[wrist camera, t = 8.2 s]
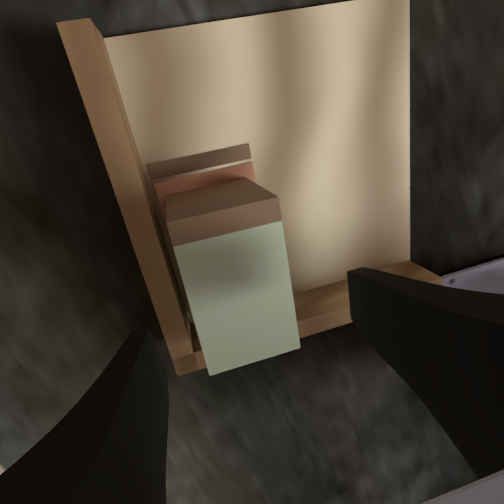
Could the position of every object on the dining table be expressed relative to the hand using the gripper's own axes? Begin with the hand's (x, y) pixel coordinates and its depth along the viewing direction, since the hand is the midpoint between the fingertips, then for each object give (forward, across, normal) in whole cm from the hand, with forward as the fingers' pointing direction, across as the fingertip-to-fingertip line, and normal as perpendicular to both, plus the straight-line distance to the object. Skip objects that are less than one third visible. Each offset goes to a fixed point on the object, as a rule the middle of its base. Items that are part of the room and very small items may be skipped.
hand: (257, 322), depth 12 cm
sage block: (+9, 0, 0) cm, 9 cm away
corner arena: (+9, -4, -3) cm, 11 cm away
